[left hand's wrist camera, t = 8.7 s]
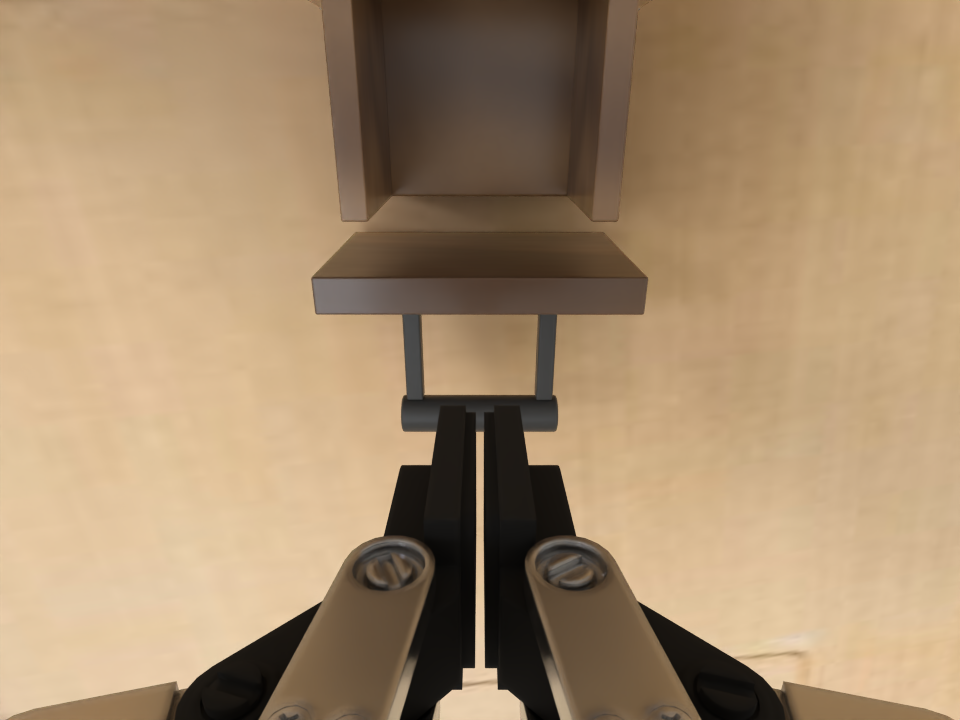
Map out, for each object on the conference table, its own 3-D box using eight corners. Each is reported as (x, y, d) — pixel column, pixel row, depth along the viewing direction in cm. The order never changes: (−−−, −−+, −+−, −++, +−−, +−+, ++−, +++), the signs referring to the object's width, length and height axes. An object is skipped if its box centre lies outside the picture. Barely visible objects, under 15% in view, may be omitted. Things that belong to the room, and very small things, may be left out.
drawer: (591, 375, 26) (627, 459, 20) (367, 375, 26) (332, 459, 20) (660, -430, 16) (774, -764, 10) (299, -431, 16) (187, -767, 10)
